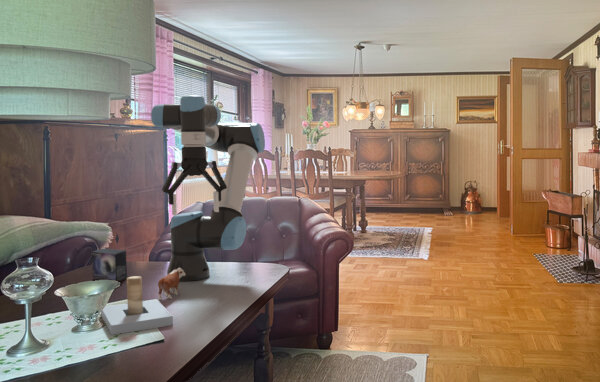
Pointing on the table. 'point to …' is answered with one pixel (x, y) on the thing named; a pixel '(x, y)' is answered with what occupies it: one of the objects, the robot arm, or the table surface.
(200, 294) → the table surface
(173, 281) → the bull figurine
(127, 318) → the socket board
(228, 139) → the robot arm
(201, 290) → the table surface
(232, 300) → the table surface
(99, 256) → the small box
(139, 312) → the peg
